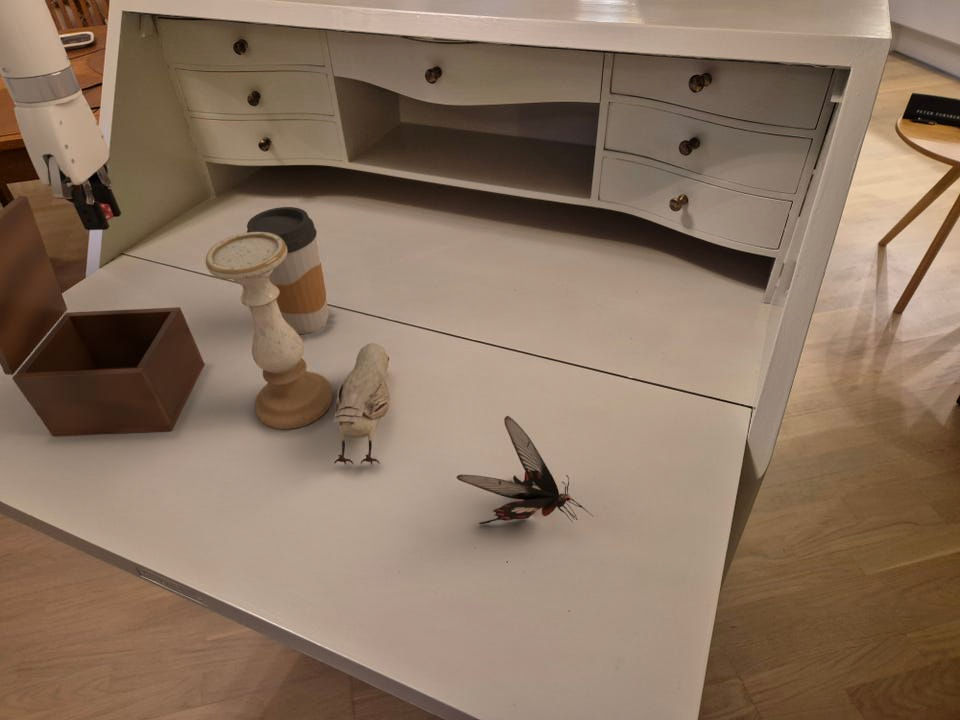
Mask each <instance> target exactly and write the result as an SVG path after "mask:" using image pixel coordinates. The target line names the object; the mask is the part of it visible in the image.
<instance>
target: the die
mask: <svg viewBox="0 0 960 720" xmlns="http://www.w3.org/2000/svg"><path fill="white" fill-rule="evenodd" d="M100 205H101V208H102V210H103V212H104V215H105V217H106V219H107V221H110V220H111V219H112V218H115V217H114V216H113V213H112V211H111V208H110V206H109V204H102V203H100Z"/></svg>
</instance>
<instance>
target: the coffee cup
mask: <svg viewBox="0 0 960 720" xmlns="http://www.w3.org/2000/svg"><path fill="white" fill-rule="evenodd" d="M246 229H247V230H246V233H248V232H268V233H273V234H275V235H278V236H279V237H281V238H282V239H283V240H284V242H285V244H286V246H287V250H288V251H287V256H286V258H285V260H284V261H283V262H282V263H281V264H280V265H279V266H277V267H276V268H274V269H273V271H272V273H271V274H270V282H271V283H272V284H274V285H275V286H276V287H278V289H279V291H280V293H279V296H278V298H277V299H276V300H277V304H278V306H279V309H280V312H281V314H282V316H283V318H284V320H285V321H286V322H287V323H288V324H289V325H290V326H291V327H292V328H293V329H294V330H295V331H296V332H297V333H298V335H305V334H310V333H313V332H316V331H318V330H320V329H321V328H323V327H324V326H325V325H326V324H327V322H328V318H329V315H330V312H329V311H330V310H329V307H328V300H327V291H326V284H325V279H324V273H323V266H322V262H321V259H320V253H319V246H318V241H317V235H318V234H317V233H318V231H317V229H316V227H315V223H314V221H313V219H312V218H311V217H309V214H308V212H307V211H306V210H304V209H302V208H299V207H294V206H281V207H274V208H270V209H266V210H263V211H260V212H259V213H256V214H255V215H254V216H252V217H251V218H249V220H248V221H247V224H246Z"/></svg>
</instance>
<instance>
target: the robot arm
mask: <svg viewBox="0 0 960 720" xmlns="http://www.w3.org/2000/svg"><path fill="white" fill-rule="evenodd" d="M0 76H1V79H2V81H3V83H4V85H5V87H6V90H7V91H8V94H9V96H10V98H11V99H12V102H13V104H14V107H13V110H14V111H13V112H14V115H15V119H16V122H17V123H16V124H17V126H18V129H19V132H20V135H21V138H22V141H23V144H24V146H25V148H26V151H27V153H28V156H29V158H30V160H31V163H32V165H33V167H34V169H35V172H36V175H37V176H38V178H39V180H40V181H41V184H42V185H44V186H46V187H51V190H52V196H53V197H54V199H57V200H65V201H67V202H68V203H69V205H71V206H74V208H75V210H76V212H77V213H76V214H77V215H78V217H79V219H80V222H81V223H82V225H83V228H84V229H85V230H86V231H106V230H108V229H109V228H110V224H109V222H108V221H109V220H108V221H107V219H106V217H105V215H104V212H103V210H102V208H101V205H100V203H102V204H109V206H110V208H111V211H112V213H113V216H114V217H113V218H118V217H120V216H121V215H122V211H121V210H120V207H119V204H118V202H117V199H116V197H115V195H114V192H113V190H112V181H111V179H110V177H109V167H108V166H109V161H110V152H109V151H110V150H109V148H108V145H107V142H106V139H105V137H104V134H103V132H102V130H101V127H100V125H99V123H98V121H97V118H96V116H95V115H94V112H93V110H92V109H91V107H90V105H89V103H88V101H87V100H86V98H85V96H84V94H83V91H82V88H81V85H80V82H79V80H78V78H77V75H76V73H75V71H74V68H73V66H72V63H71V61H70V59H69V56H68V54H67V51H66V49H65V46H64V44H63V41H62V39H61V37H60V34H59V32H58V29H57V27H56V24H55V22H54V20H53V17H52V15H51V12H50V9H49V7H48V4H47V2H46V0H0ZM75 187H79V188H80V190H79V189H75Z"/></svg>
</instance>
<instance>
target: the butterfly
mask: <svg viewBox="0 0 960 720" xmlns="http://www.w3.org/2000/svg"><path fill="white" fill-rule="evenodd" d="M503 422H504V426H505V429H506V431H507V433H508V436H509V438H510V441H511V444H512V445H513V448H514V450H515V453H516V455H517V457H518V460H519V462H520V463H521V466H522V468H523V470H524V471H525V472H524V479H523V480H522V481H521V480H520V479H519V478H518V477H517V476H516V475H513V477H512V481H508V480H506V479H501V478H497V477H490V476H483V475H475V474H457V476H456V479H457V480H458V481H460V482H462V483H466V484H467V485H471V486H473V487H476V488H478V489H481V490H484V491H487V492H490V493H492V494H495V495H499V496H501V497H504V498H509V499H513V500H516V501H511V502H506V503H505V504H504V505H502V506H500V507H498V508H495V509H493V510H492V512H493V513H494V516H495V517H496V518H493V519H489V520H485V521H480V522H478V525H486V524H490V523H492V522H495V521H504V522H507V521H508V522H509V521H513V520H526V519H529V518H530V517H531V516H533V515H534V514H535V513H537V512H538V511H539V510H540V511H541V515H542V516H543V517H547V516H550V515H551V514H552V513H553V512H554V510H556V508H557V509H558V510H559V511H561V512H562V513H563V514H565V516H566V517H567V518H568V519H569V520H570V521H571V522H573V520H577V521H578V520H579V519H578V518H577V517H578V516H577V514H576V513H575V512H574V509H572V507H571V506H570V505H569V504H572V505H574V506H575V507H579V508H582V509H583V510H584V511H585V512H586V513H588V514H589V515H591V516H592V517H595V516H594V515H593V514H591V513H590V511H588V510H587V509H586V508H585V507H583V505H581V504H580V503H578V502H577V501H576V500H574V498H573V496H572V495H571V494H569V485H570V477H569V475H567V474H565V475H566V477H567V480H568V482H567V485H566V483H565V482H564V481H561V483H562V484H564V493H563V492H561V493H560V492H559V487H558V485H557V483H556V480H555V478H554V477H553V475H552V473H551V472H550V470H549V467H548V466H547V464H546V463H545V461H544V459H543V458H542V456H541V454H540V453H539V451H538V449H537V448H536V445H535V444H534V442H533V441H532V440H531V438H530V437H529V436H528V434H527V433H526V431H525V430H524V429H523V428H522V426H521V425H520V424H519V423H518V422H517V421H516V420H514V419H513V418H512V417H510V416H509V415H506V416H505V417H504V419H503ZM565 504H566V505H567V506H568V507H569V509H570V510H571V511H572V513H573V514H572V513H571V512H570V510H568V509H567V507H566V506H565ZM562 508H564V509H565V510H566V512H567V513H568V514H569V515H570V516H571V517H572V519H573V520H572V519H571V518H570V517H569V515H568V514H567V513H566V512H565V510H563V509H562Z"/></svg>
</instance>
